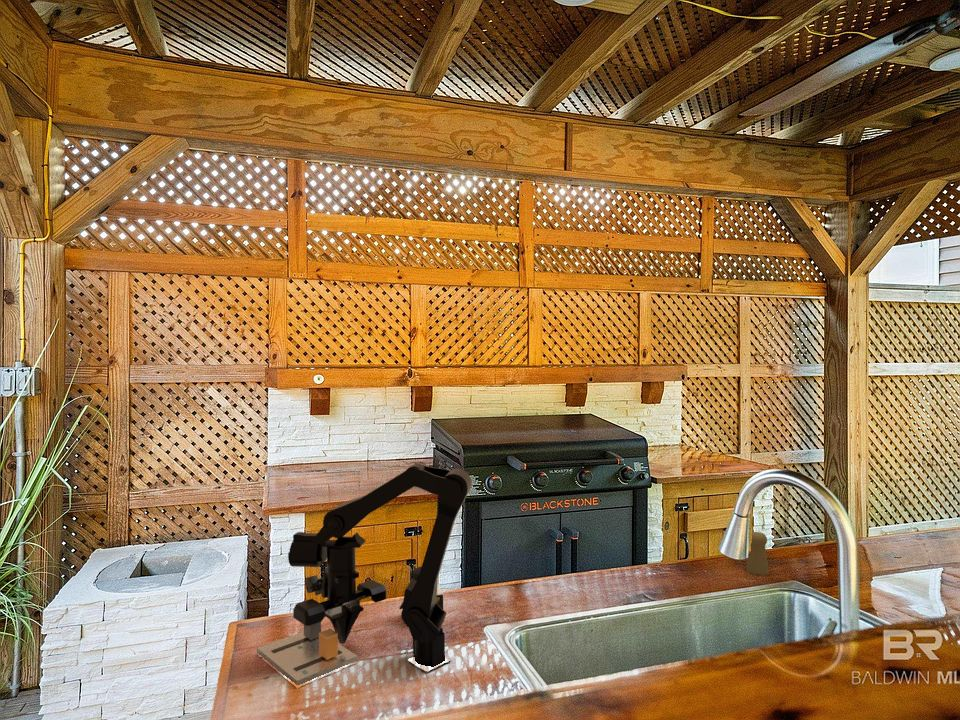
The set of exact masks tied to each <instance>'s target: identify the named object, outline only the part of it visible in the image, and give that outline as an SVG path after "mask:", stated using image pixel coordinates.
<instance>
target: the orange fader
mask: <svg viewBox="0 0 960 720" xmlns="http://www.w3.org/2000/svg"><path fill="white" fill-rule="evenodd" d="M338 643H339V640H338V633H336V632H335V630H333V629H331V628H328V629H325V630H321V632H320V633H319V655H321V656H322V657H323V658H325V659H326V660H327V659H330V658H332V657H335V656H337V655H338Z"/></svg>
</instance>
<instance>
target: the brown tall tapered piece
mask: <svg viewBox="0 0 960 720" xmlns="http://www.w3.org/2000/svg"><path fill="white" fill-rule="evenodd" d="M751 532H752V543H751V552H750V555H749V558H748V557H747V558H748V559H746V569H745V571H746V572H748V573H749V574H752V573H753V574H752V575H756V574H759V575H758V576H767V575H769V574H770V568H769V562H768V557H767V550H766V549H767V548H766V545H767V543H768V537H767V535H766V534H765V533H763V532H759V531H751ZM766 574H767V575H766Z"/></svg>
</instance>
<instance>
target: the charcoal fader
mask: <svg viewBox="0 0 960 720" xmlns="http://www.w3.org/2000/svg"><path fill="white" fill-rule="evenodd" d="M303 631H304V636H305V637H307V638H308V639H310V640H312V639H315V638H318V637H319V633H320V632H322V622H319V623H316V624H313V625H310V626H305V625H304V624H303Z"/></svg>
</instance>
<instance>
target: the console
mask: <svg viewBox="0 0 960 720" xmlns="http://www.w3.org/2000/svg"><path fill="white" fill-rule="evenodd" d="M257 653H258V654H259V655H261V656H262V657H263V658H264V659H265V660H267V661H268V662H269V663H270V664H271V665H272V666H274V667H275V668H276V669H277V670H278V671H280V672H281V673H282V674H283V675H285V676H286V677H287V678H289V679H290V680H291V681H292V682H294V683H295V684H296V685H300V684H303V683H305V682H307V681H310V680H312V679H314V678H316V677H319V676H321V675H324V674H326V673H329V672H331V671H333V670H335V669H338V668H340V667H342V666H345V665H348V664H350V663H353V662H355V661H357V660H358V655H357V654H355V653H354V652H352V651H351V650H350V649H347V648H346V647H345V646H343V644H341V643H339V642H338V655H337V656H335V657H332V658H330V659H327V660H326V659H325V658H323V657H322V656H321V655H319V637H318V638H315V639H312V640H310V639H308V638H307V637H305V636H304V630H303V631H300V632H298V633H295V634H293V635H289V636H287V637H284V638H282V639H278V640H275V641H272V642H270V643H267V644H264V645H261V646H258V647H257V648H256V654H257ZM358 661H359V660H358Z"/></svg>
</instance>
